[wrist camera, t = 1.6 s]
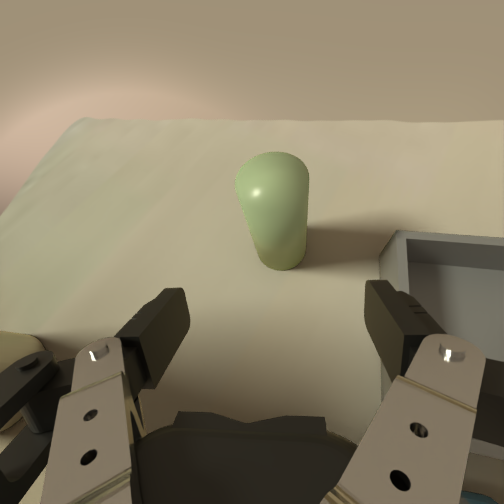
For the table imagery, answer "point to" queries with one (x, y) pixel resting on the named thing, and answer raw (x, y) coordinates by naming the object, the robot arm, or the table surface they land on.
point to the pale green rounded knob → (275, 207)
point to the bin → (452, 291)
